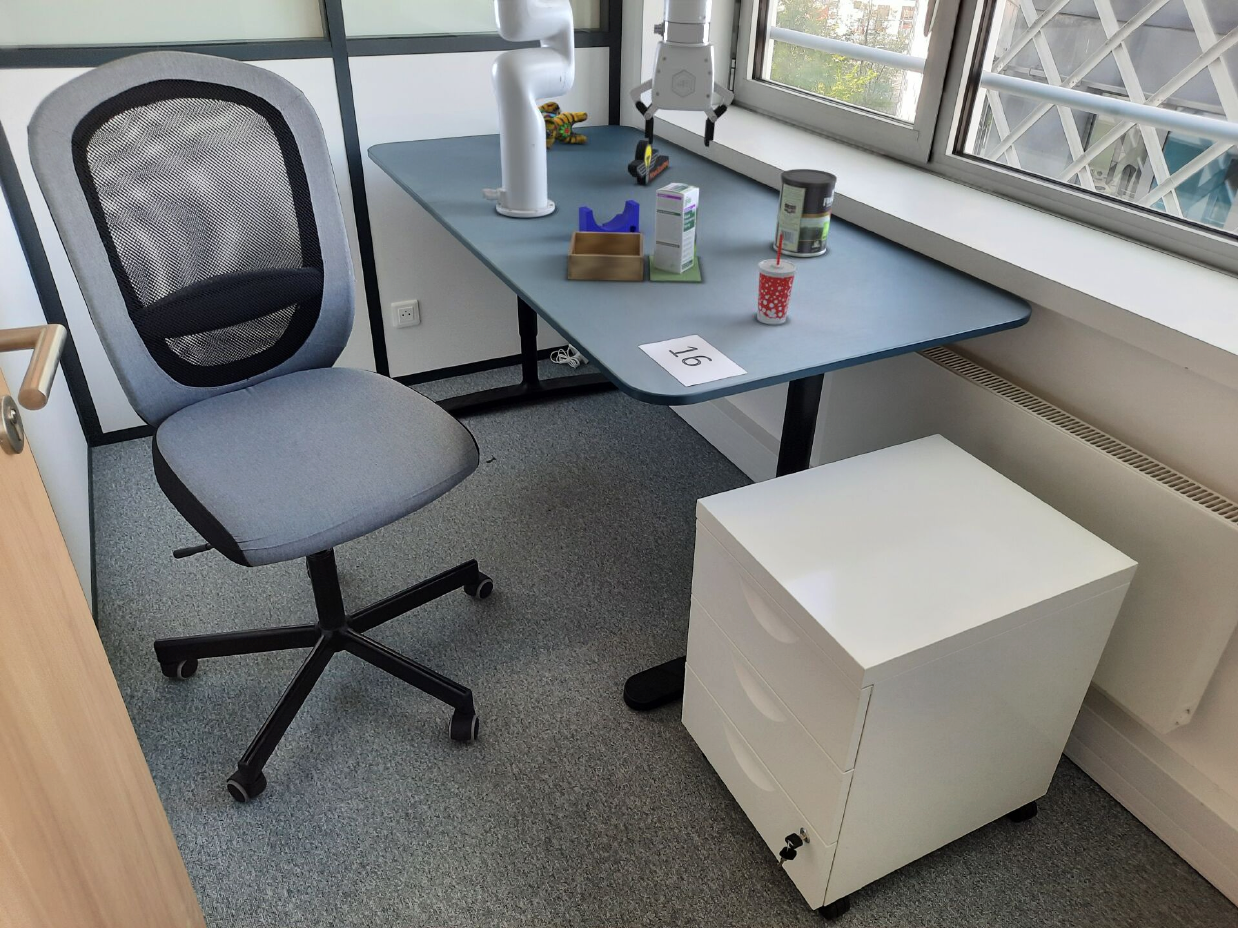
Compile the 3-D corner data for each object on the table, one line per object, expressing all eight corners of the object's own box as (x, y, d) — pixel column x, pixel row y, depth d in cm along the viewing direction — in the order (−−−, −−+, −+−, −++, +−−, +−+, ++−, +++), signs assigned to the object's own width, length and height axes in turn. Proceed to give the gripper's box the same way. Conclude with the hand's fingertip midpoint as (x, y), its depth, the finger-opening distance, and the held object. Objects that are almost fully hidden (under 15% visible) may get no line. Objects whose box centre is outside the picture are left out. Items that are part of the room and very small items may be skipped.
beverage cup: (776, 329, 139) (787, 243, 132) (744, 319, 143) (753, 234, 135) (797, 318, 143) (809, 234, 136) (765, 308, 147) (775, 225, 139)
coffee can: (829, 244, 175) (840, 172, 167) (821, 260, 167) (832, 185, 159) (778, 237, 178) (787, 166, 170) (767, 253, 170) (776, 179, 162)
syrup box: (680, 274, 158) (685, 193, 150) (652, 268, 161) (655, 188, 153) (695, 265, 162) (700, 186, 154) (667, 259, 165) (671, 181, 157)
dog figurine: (553, 148, 254) (504, 152, 243) (550, 102, 250) (499, 104, 239) (599, 146, 240) (549, 150, 229) (596, 97, 236) (545, 99, 225)
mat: (650, 281, 156) (650, 279, 156) (649, 256, 167) (649, 254, 167) (700, 282, 156) (701, 280, 156) (696, 257, 167) (696, 255, 167)
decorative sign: (635, 194, 202) (637, 149, 196) (626, 193, 202) (628, 148, 197) (668, 166, 223) (670, 125, 218) (660, 165, 224) (662, 124, 219)
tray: (568, 279, 156) (568, 255, 154) (572, 254, 167) (572, 231, 165) (642, 281, 156) (643, 257, 154) (642, 255, 167) (642, 233, 165)
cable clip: (627, 227, 182) (628, 198, 178) (638, 233, 178) (639, 204, 175) (575, 235, 177) (575, 205, 173) (585, 241, 173) (585, 211, 170)
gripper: (632, 35, 138) (627, 147, 147) (742, 39, 138) (730, 151, 147) (632, 28, 144) (628, 136, 154) (737, 32, 144) (727, 140, 154)
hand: (678, 143), depth 150 cm, fingers open, 9 cm apart
